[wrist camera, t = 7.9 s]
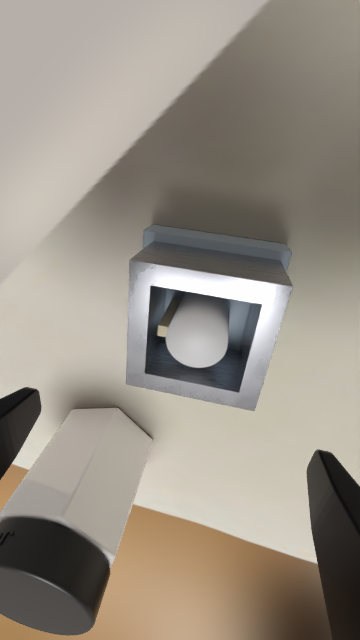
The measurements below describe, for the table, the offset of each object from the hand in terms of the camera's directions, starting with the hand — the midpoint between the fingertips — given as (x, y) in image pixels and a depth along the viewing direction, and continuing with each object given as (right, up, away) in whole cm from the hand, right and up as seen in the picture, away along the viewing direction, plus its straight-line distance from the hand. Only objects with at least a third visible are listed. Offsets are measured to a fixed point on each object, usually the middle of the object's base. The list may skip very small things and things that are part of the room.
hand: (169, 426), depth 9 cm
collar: (+2, +4, +8) cm, 9 cm away
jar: (-6, -8, +18) cm, 21 cm away
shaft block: (+2, +5, +10) cm, 11 cm away
